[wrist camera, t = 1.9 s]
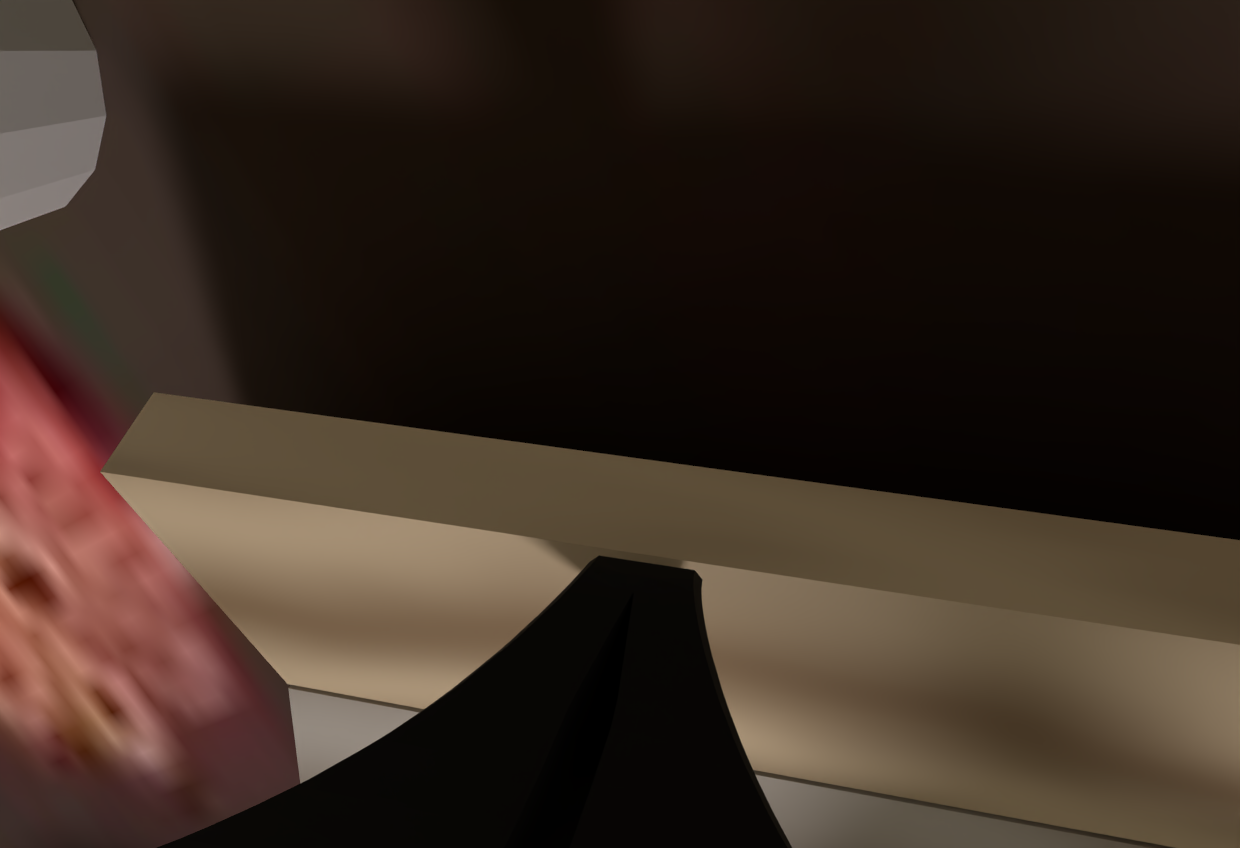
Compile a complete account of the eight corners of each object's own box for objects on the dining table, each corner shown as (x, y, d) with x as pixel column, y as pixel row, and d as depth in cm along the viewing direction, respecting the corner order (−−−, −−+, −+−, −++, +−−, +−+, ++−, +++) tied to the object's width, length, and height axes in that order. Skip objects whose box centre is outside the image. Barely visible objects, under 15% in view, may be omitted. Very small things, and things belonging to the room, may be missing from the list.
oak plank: (1394, 806, 16) (1424, 892, 16) (315, 620, 20) (287, 683, 19) (1852, 623, 10) (1945, 752, 9) (154, 392, 13) (100, 471, 12)
